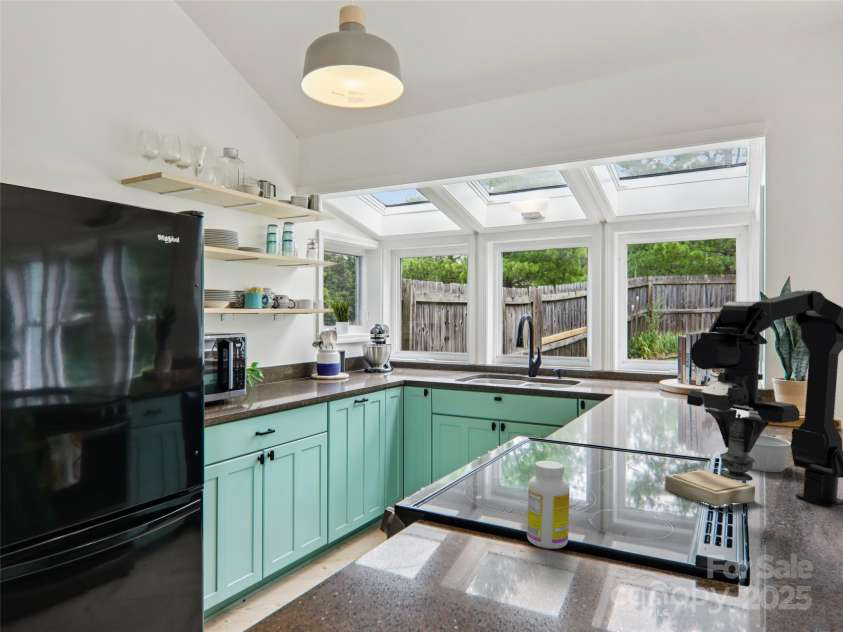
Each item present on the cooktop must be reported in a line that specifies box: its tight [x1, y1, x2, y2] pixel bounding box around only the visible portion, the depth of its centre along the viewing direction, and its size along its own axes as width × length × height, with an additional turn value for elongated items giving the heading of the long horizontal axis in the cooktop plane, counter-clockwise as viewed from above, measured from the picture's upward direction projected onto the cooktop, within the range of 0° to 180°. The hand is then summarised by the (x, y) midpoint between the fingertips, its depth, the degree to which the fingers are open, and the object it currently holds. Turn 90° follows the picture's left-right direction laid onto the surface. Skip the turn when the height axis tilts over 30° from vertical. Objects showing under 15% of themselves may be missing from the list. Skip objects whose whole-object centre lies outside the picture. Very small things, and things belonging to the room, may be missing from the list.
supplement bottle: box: [526, 460, 570, 550], centre depth 91 cm, size 7×7×13 cm
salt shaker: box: [719, 413, 755, 482], centre depth 105 cm, size 6×6×12 cm
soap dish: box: [664, 469, 756, 506], centre depth 117 cm, size 12×12×3 cm
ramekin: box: [748, 434, 791, 473], centre depth 140 cm, size 13×13×7 cm
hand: (737, 449), depth 105 cm, fingers closed on salt shaker, 3 cm apart
